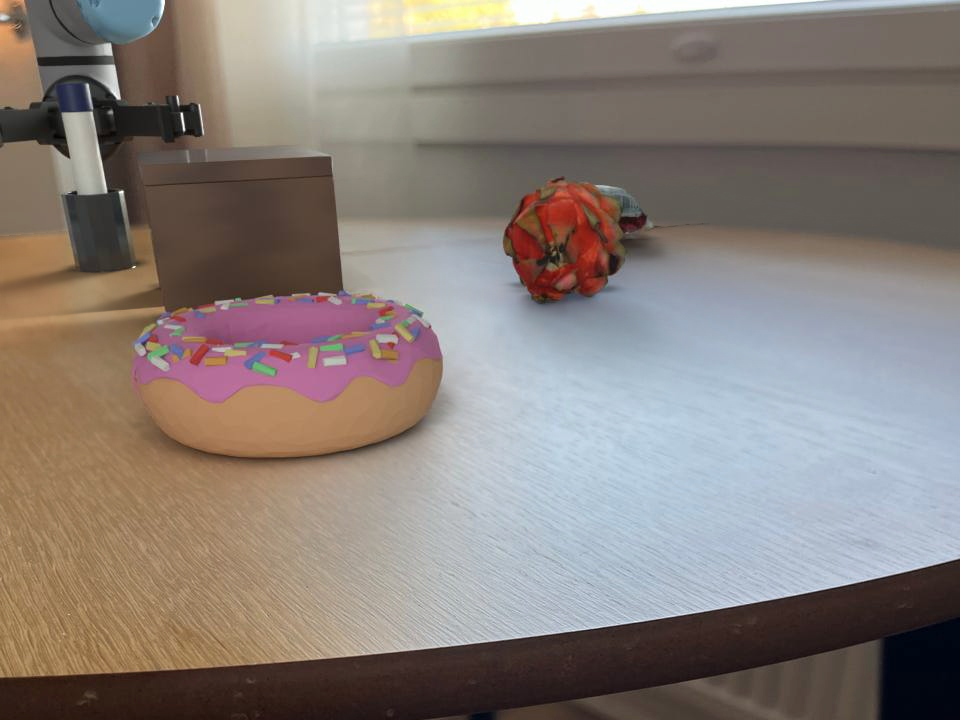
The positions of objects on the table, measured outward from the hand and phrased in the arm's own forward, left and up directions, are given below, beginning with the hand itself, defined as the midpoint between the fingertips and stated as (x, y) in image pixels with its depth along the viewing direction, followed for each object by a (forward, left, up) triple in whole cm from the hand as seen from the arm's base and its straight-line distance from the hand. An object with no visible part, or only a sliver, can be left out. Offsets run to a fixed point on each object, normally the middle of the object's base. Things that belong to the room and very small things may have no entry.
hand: (79, 127), depth 81 cm
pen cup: (0, +3, -11) cm, 12 cm away
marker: (0, +3, -11) cm, 11 cm away
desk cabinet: (+10, -16, -11) cm, 22 cm away
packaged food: (+44, +1, -12) cm, 46 cm away
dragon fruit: (+32, -24, -12) cm, 42 cm away
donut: (+9, -47, -12) cm, 49 cm away
